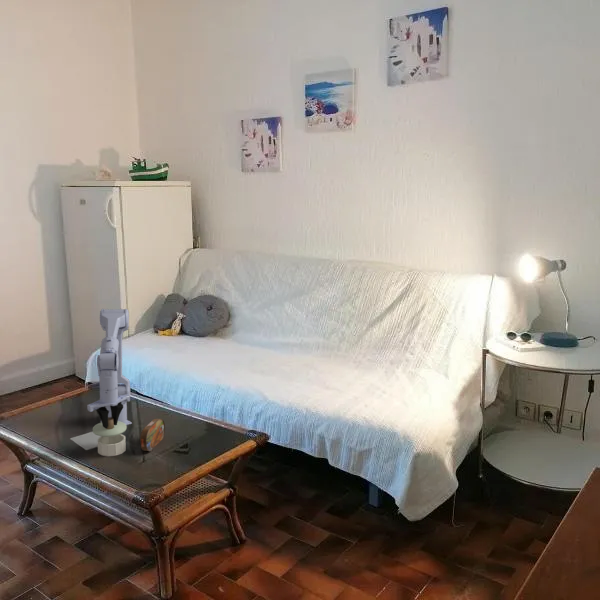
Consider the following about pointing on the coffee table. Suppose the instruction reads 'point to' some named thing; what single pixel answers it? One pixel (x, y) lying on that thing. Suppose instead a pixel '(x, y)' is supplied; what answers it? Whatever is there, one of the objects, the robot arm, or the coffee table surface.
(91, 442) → the mat
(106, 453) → the bowl
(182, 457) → the coffee table surface
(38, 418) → the coffee table surface
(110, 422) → the lid
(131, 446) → the coffee table surface
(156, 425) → the tin
